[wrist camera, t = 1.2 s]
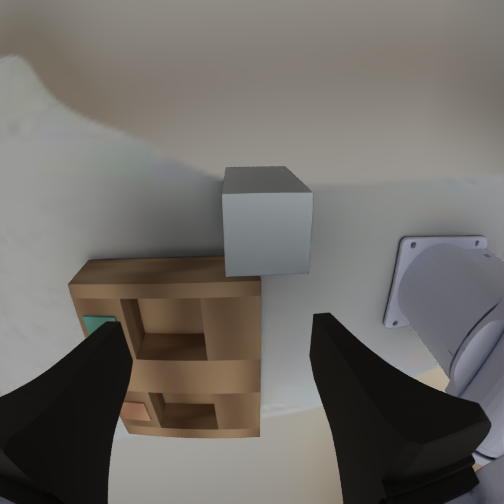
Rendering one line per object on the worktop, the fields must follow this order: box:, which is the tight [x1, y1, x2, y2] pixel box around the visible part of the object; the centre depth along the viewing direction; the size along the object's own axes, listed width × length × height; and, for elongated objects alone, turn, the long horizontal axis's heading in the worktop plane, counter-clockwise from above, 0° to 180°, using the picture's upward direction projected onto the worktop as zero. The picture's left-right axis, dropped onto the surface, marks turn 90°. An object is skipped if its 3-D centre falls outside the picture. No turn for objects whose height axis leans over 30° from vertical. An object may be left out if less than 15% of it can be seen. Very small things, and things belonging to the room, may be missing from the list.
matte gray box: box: [222, 166, 313, 277], centre depth 16 cm, size 4×4×7 cm
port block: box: [68, 256, 261, 438], centre depth 22 cm, size 12×16×4 cm
